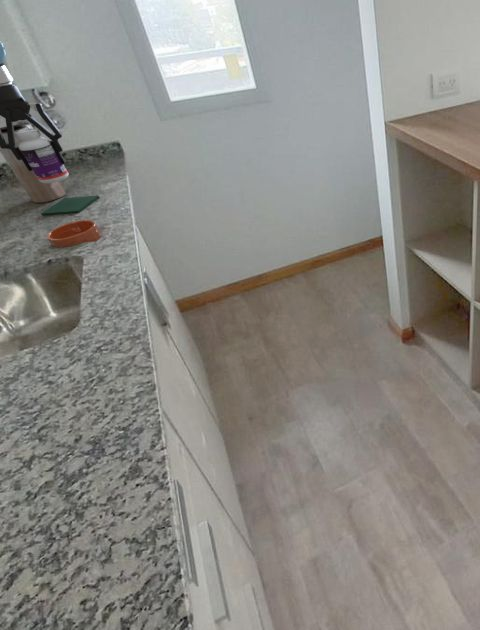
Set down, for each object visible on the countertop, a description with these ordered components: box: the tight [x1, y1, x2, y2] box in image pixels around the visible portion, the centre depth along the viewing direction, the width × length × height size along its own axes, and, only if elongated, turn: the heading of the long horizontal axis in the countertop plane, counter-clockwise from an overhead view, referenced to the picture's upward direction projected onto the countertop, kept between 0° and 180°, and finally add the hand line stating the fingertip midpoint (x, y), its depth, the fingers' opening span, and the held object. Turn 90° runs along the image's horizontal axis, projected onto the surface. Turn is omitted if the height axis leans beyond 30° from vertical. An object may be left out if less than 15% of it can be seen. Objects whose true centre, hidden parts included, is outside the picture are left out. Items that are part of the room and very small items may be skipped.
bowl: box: [46, 219, 102, 248], centre depth 122 cm, size 12×12×4 cm
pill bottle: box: [17, 129, 70, 183], centre depth 134 cm, size 8×8×14 cm
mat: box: [40, 195, 100, 217], centre depth 144 cm, size 12×12×1 cm
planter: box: [0, 124, 67, 204], centre depth 145 cm, size 10×10×23 cm
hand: (47, 166), depth 136 cm, fingers closed on pill bottle, 8 cm apart
